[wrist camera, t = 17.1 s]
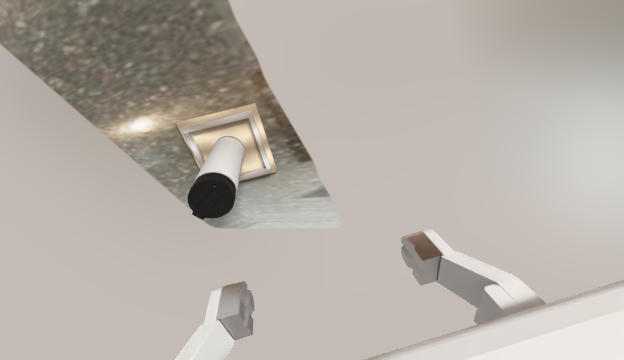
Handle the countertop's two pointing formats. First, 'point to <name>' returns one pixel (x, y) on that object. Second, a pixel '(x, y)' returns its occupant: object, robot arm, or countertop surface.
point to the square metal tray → (239, 125)
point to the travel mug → (217, 179)
